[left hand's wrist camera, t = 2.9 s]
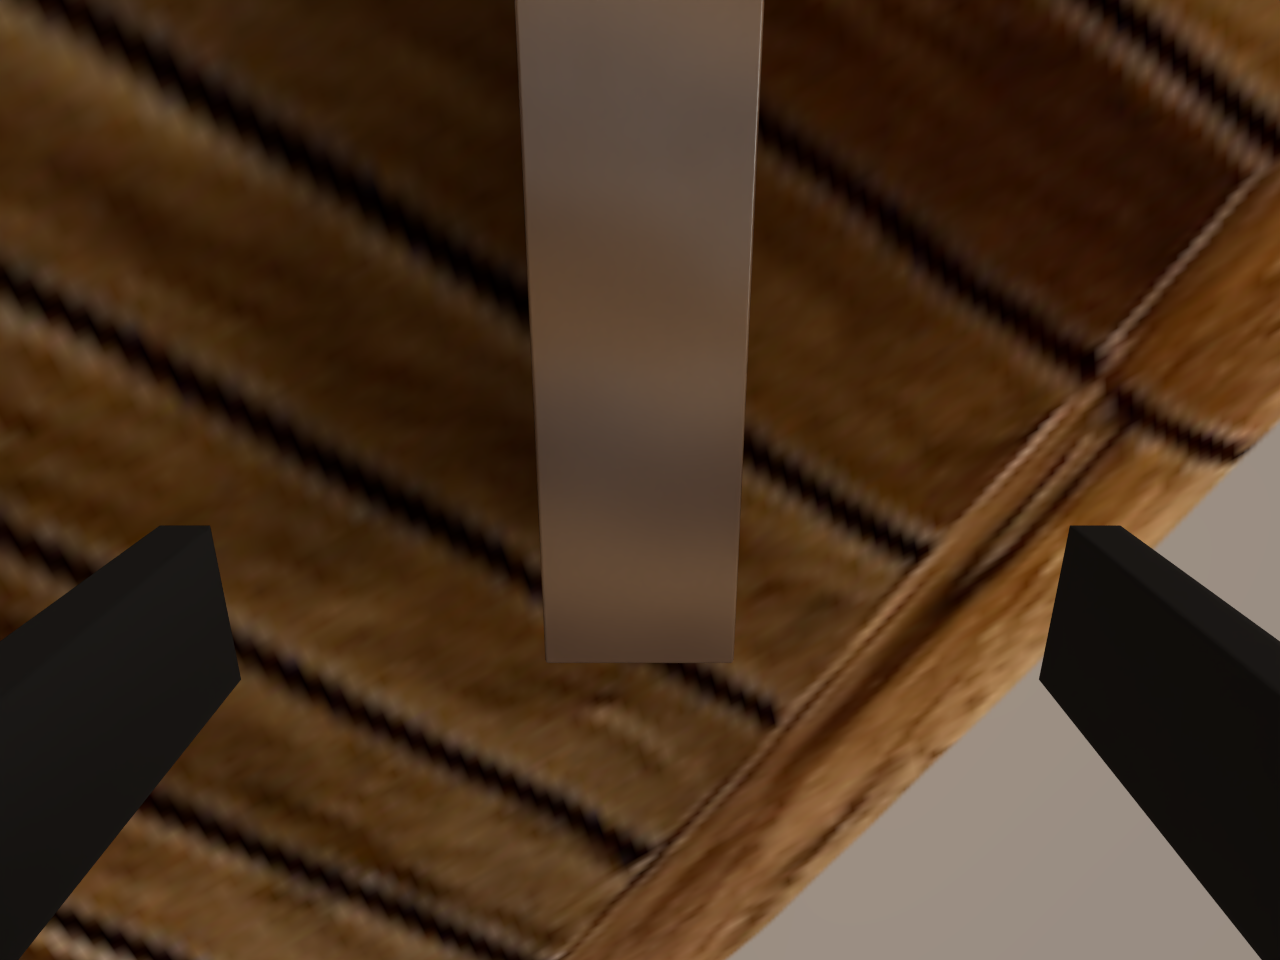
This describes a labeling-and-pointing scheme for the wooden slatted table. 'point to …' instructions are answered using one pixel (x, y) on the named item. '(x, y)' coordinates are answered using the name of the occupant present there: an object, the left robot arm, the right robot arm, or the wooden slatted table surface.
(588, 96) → the beam
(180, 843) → the wooden slatted table surface
